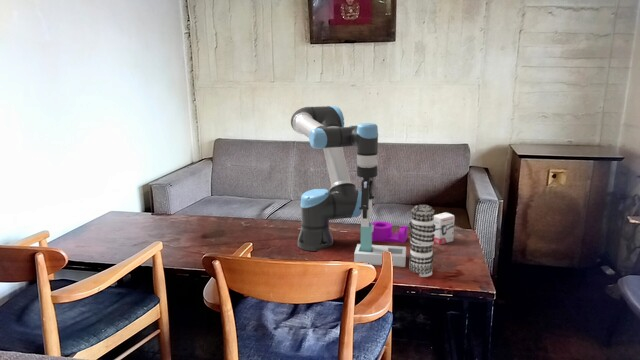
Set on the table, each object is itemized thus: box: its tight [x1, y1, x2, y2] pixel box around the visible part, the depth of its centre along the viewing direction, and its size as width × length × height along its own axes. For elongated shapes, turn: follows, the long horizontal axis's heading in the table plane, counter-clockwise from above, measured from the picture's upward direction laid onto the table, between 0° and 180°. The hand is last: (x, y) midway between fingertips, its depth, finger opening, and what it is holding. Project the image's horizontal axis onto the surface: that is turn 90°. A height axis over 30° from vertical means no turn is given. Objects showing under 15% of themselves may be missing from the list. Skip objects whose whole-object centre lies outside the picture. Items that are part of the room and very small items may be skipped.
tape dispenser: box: [371, 220, 409, 244], centre depth 205 cm, size 16×10×6 cm, turn 67°
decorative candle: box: [408, 204, 436, 278], centre depth 169 cm, size 9×9×25 cm
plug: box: [360, 222, 374, 252], centre depth 180 cm, size 5×4×14 cm
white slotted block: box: [353, 243, 407, 268], centre depth 181 cm, size 19×10×5 cm, turn 79°
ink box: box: [433, 211, 456, 246], centre depth 201 cm, size 8×5×12 cm, turn 123°
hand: (366, 220), depth 178 cm, fingers open, 13 cm apart
